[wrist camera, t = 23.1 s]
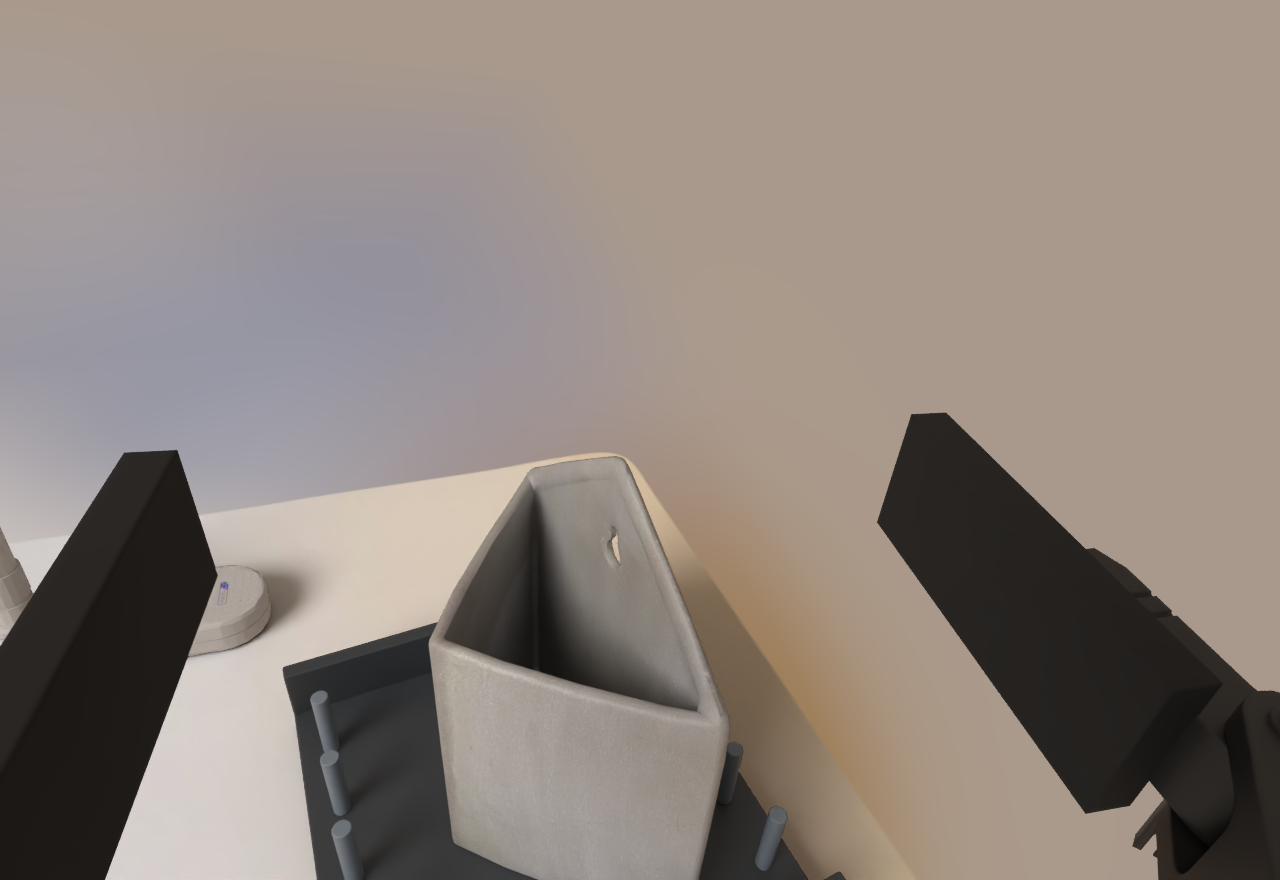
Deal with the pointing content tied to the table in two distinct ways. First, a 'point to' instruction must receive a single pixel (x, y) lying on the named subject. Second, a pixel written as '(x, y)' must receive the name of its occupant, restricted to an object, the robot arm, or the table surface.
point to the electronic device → (224, 625)
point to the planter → (577, 690)
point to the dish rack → (415, 782)
